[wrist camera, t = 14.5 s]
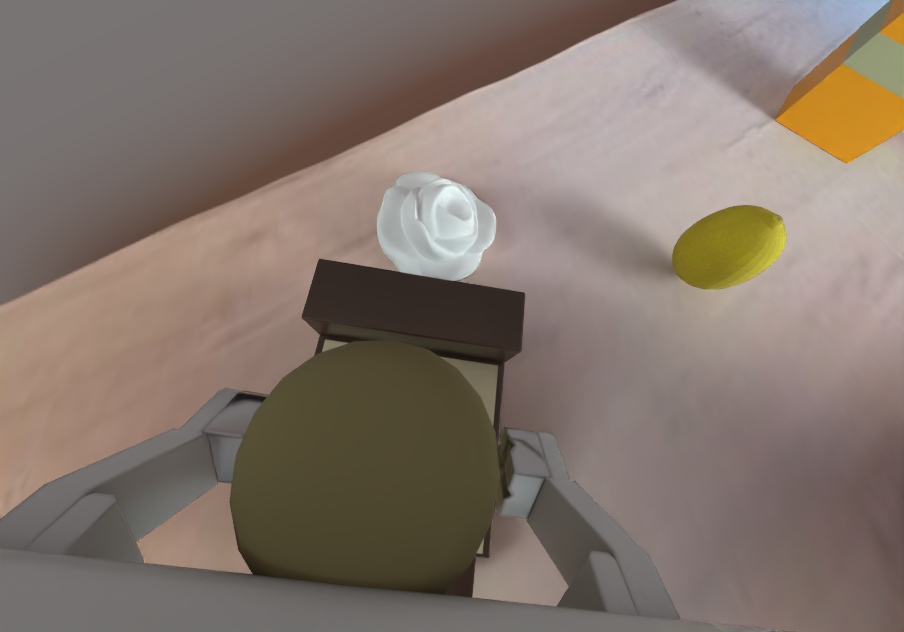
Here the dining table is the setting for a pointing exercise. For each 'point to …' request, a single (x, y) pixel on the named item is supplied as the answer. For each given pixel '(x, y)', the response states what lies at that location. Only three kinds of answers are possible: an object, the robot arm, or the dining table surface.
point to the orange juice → (854, 90)
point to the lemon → (729, 247)
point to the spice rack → (423, 331)
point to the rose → (434, 226)
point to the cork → (367, 471)
